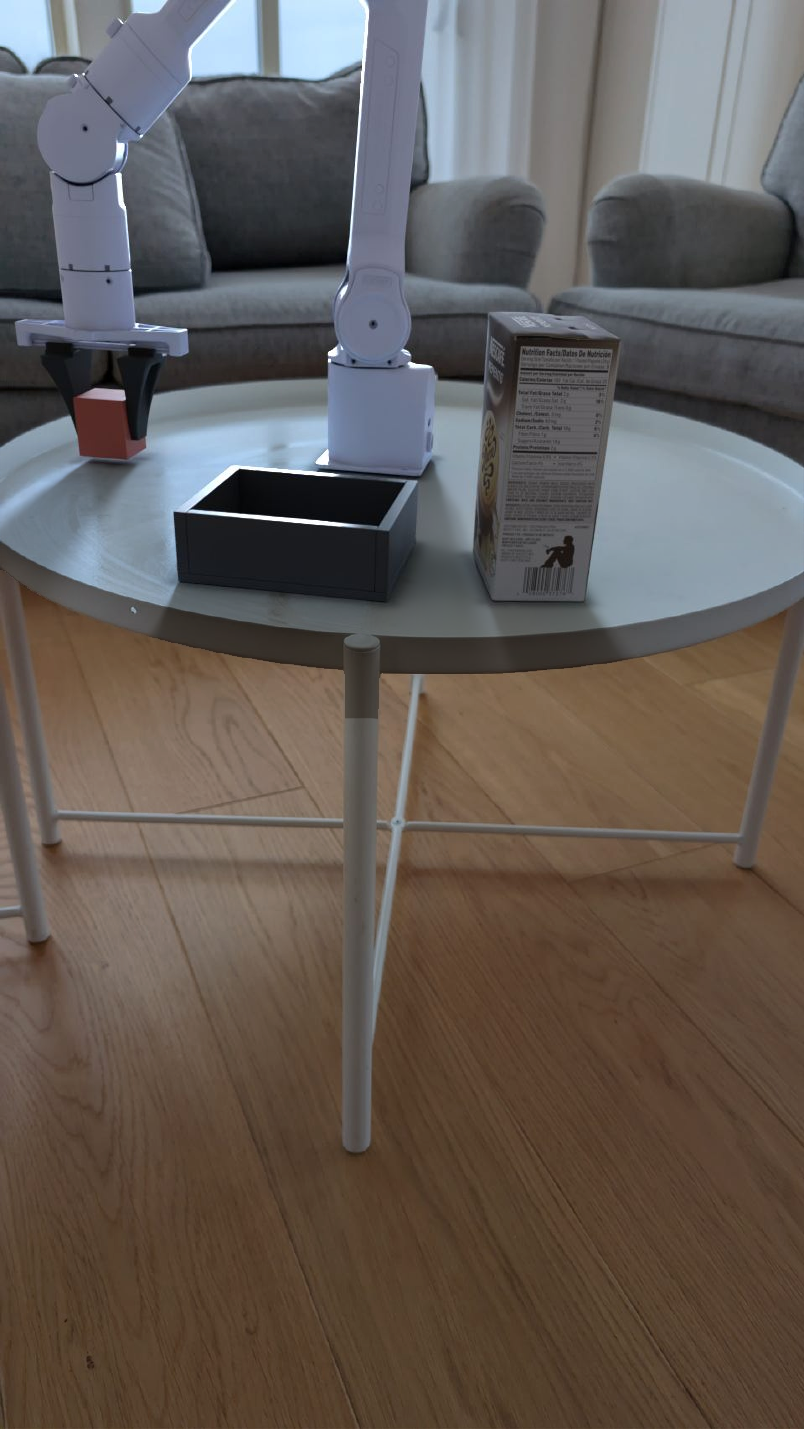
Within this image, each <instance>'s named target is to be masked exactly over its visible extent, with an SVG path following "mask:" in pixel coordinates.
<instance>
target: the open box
mask: <svg viewBox="0 0 804 1429" xmlns="http://www.w3.org/2000/svg"><path fill="white" fill-rule="evenodd" d="M418 501H419V480H413V479H408V480H407V479H402V478H390V477H388V478H386V477H376V476H365V475H355V474H354V475H353V474H343V473H342V474H341V473H331V472H330V473H329V472H317V471H305V470H294V469H280V468H269V467H257V466H244V465H234V464H231V465H230V466H228V467H227V468H226V469H225V470H224V471H222V472H221V473H219V474H218V475H217V476H216V477H215V478H213V480H211V481H210V482H208V483H207V484H206V485H205V486H204V487H202V488H201V489H199V491H197V492H196V493H195V494H194V495H192V496H191V497H190V498H189V499H187V500H186V501H184V502H183V503H182V504H181V505H180V506H179V507H177V508H176V509H174V511H173V512H172V513H173V527H174V540H175V542H174V543H175V556H176V557H175V558H176V570H177V581H178V582H180V583H181V582H182V583H191V584H193V583H194V584H202V585H211V586H222V587H232V588H242V589H250V590H251V589H253V590H261V591H262V590H263V591H273V592H282V593H291V594H303V595H315V596H323V597H332V598H343V599H351V600H352V599H353V600H362V601H363V600H364V601H374V602H385V603H387V602H388V601H389V599H390V596H391V594H392V593H393V590H394V588H395V586H396V584H397V582H398V580H399V578H400V576H401V574H402V572H403V570H404V568H405V566H406V564H407V562H408V560H409V558H410V556H411V554H412V551H413V550H414V548H415V546H416V543H417V525H418V524H417V522H418Z"/></svg>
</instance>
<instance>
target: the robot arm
mask: <svg viewBox="0 0 804 1429" xmlns="http://www.w3.org/2000/svg"><path fill="white" fill-rule="evenodd" d="M236 1H237V0H166V2H165V3H164V4H163V5H162V7H161V8H160V10H159V11H156V12H143V11H133V12H132V13H130V14H129V15H128V17H127V18H126V19H125V21H124V22H122V20H121V19H120V18H118V17H115V18H113V19H112V21H111V22H110V23H109V24H108V26H107V27H106V28H105V32H106V34H107V35H108V36H109V37H110V39H109V40H108V41H107V43H106V44H105V45H104V46H103V47H102V49H101V50H100V51H99V52H98V54H97V55H96V56H95V58H94V59H93V60H92V61H91V63H90V64H89V65H88V66H87V67H86V69H85V70H84V71H83V73H81V74H80V76H79V75H77V74H76V73H72V74H71V75H70V76H69V78H68V79H67V80H66V82H65V85H66V87H67V88H68V89H69V90H70V91H71V93H64V94H63V93H62V94H59V95H56V96H53V97H52V98H50V99H48V101H47V102H46V104H45V107H44V110H43V112H42V114H41V115H40V117H39V120H38V123H37V128H36V140H37V146H38V150H39V152H40V155H41V157H42V158H43V160H44V162H45V164H46V165H47V166H48V167H49V168H50V169H51V170H49V180H50V191H51V197H52V205H51V211H52V219H53V229H54V236H55V245H56V255H57V263H58V271H59V281H60V290H61V298H62V307H63V315H64V319H33V318H32V319H31V318H25V319H21V320H16V321H14V328H15V334H16V335H15V336H16V341H17V346H18V347H32V346H42V347H43V346H44V347H45V349H44V353H42V354H40V355H39V359H40V363H41V366H42V367H43V368H44V369H45V370H46V372H47V374H48V375H49V376H50V378H51V379H52V381H53V383H54V384H55V386H56V388H57V390H58V391H59V394H60V395H61V397H62V399H63V402H64V403H65V406H66V409H67V411H68V413H69V416H70V418H71V421H72V424H73V427H74V430H75V433H76V434H77V427H76V418H75V410H74V401H73V398H74V397H76V396H78V395H80V394H83V393H85V392H87V391H90V390H92V387H91V385H92V384H91V383H92V378H91V376H92V357H93V350H102V351H117V352H118V351H119V352H127V354H124V355H122V356H119V357H116V365H117V368H118V372H119V374H120V378H121V382H122V386H123V387H122V388H123V390H124V392H125V397H126V403H127V417H128V426H129V432H130V437H131V440H135V441H138V440H140V439H142V438H144V437H148V436H147V435H148V425H149V416H150V411H151V406H152V402H153V398H154V394H155V391H156V387H157V384H158V382H159V379H160V377H161V374H162V372H163V369H164V367H165V365H166V363H167V356H168V355H169V356H171V357H182V356H184V355H187V354H189V352H190V351H189V349H190V348H189V337H188V336H189V334H188V329H187V328H177V327H169V326H168V327H167V326H160V325H159V326H158V325H151V324H144V323H136V312H135V311H136V310H135V301H134V288H133V275H132V268H131V267H132V266H131V253H130V240H129V231H128V230H129V229H128V216H127V215H128V214H127V209H126V206H125V202H124V194H123V183H122V173H121V172H122V171H123V169H124V166H125V165H126V162H127V159H128V152H129V144H128V143H129V142H131V141H134V142H139V141H140V140H141V139H142V137H143V136H144V135H145V134H146V133H147V132H148V130H150V129H151V127H152V126H153V125H154V124H155V123H156V121H157V120H158V119H159V118H160V117H161V115H162V114H163V113H164V112H165V111H166V110H167V108H168V107H170V105H171V104H172V102H174V100H175V99H176V98H177V97H178V95H179V94H180V93H181V92H182V91H183V90H184V89H185V88H186V86H187V85H188V84H189V83H190V82H191V81H192V76H193V75H192V59H191V58H192V57H191V55H192V54H191V53H192V49H193V48H194V47H195V46H196V45H197V44H198V42H200V41H201V39H202V38H203V37H204V36H205V35H206V34H207V33H208V32H209V31H210V29H212V27H214V25H215V24H216V23H217V22H218V21H219V19H220V18H221V17H223V15H224V14H225V13H226V12H227V11H228V10H229V9H230V8H231V7H232V5H233V4H234V3H235V2H236ZM358 1H359V2H360V4H361V5H362V6H363V8H364V9H365V13H366V17H365V18H366V20H365V30H364V31H365V32H364V44H363V58H362V71H361V83H360V99H359V111H358V112H359V113H358V121H357V122H358V125H357V137H356V138H357V139H356V151H355V163H354V164H355V165H354V178H353V187H352V188H353V190H352V202H351V203H352V204H351V216H350V227H349V228H350V230H349V239H348V247H347V257H346V267H345V274H344V277H343V280H342V282H341V283H340V285H339V286H338V288H337V290H336V292H335V294H334V297H333V301H332V310H331V311H332V318H333V324H334V333H335V337H336V340H337V341H338V344H337V345H336V346H335V347H334V348H333V349H332V350H330V351H328V353H327V359H328V360H327V450H325V452H324V453H323V454H322V455H321V456H320V457H319V458H318V459H317V460H316V461H315V462H314V467H315V468H317V469H323V470H324V469H325V470H336V471H348V472H360V473H371V474H385V475H386V474H387V475H395V476H396V475H397V476H407V477H409V476H410V477H421V475H422V474H423V473H424V471H425V470H426V468H427V466H428V464H429V462H430V460H431V459H432V457H433V453H434V452H433V447H434V419H435V418H434V416H435V401H436V400H435V398H436V373H435V369H434V367H433V366H431V365H427V364H417V363H414V362H411V361H412V354H411V352H410V351H409V350H406V349H405V346H406V345H407V342H408V341H409V339H410V334H411V331H412V316H411V312H410V308H409V305H408V302H407V300H406V297H405V290H404V289H405V287H404V286H405V274H406V258H405V257H406V256H405V254H406V253H405V251H406V250H405V246H406V244H405V243H406V231H407V223H408V222H407V221H408V212H409V201H410V191H411V182H412V171H413V160H414V150H415V140H416V131H417V130H416V129H417V121H418V111H419V101H420V91H421V90H420V89H421V81H422V79H421V78H422V72H423V70H422V69H423V59H424V48H425V40H426V39H425V38H426V29H427V19H428V9H429V0H358Z"/></svg>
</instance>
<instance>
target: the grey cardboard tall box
mask: <svg viewBox="0 0 804 1429" xmlns="http://www.w3.org/2000/svg"><path fill="white" fill-rule="evenodd" d="M486 333H487V334H486V345H485V346H486V349H485V363H484V375H483V376H484V378H483V392H482V406H481V407H482V409H481V420H480V421H481V423H480V424H481V425H480V437H479V438H480V439H479V452H478V469H477V481H476V493H475V494H476V496H475V506H474V507H475V509H474V510H475V511H474V525H473V539H472V540H473V541H472V555H473V558H474V561H475V562H476V565H477V568H478V569H479V572H480V575H481V577H482V580H483V581H484V584H485V586H486V589H487V592H488V593H489V597H490V598H491V600H492V601H498V602H500V601H501V602H584V601H586V597H587V593H588V592H587V590H588V583H589V575H590V567H591V561H592V554H593V546H594V540H595V532H596V526H597V519H598V512H599V505H600V498H601V497H600V496H601V490H602V483H603V477H604V470H605V462H606V456H607V448H608V441H609V435H610V429H611V428H610V426H611V421H612V413H613V406H614V405H613V404H614V397H615V391H616V390H615V389H616V382H617V378H618V377H617V376H618V369H619V362H620V353H621V345H622V338H621V337H618V336H617V335H615V334H613V333H611V332H609V331H608V330H607V329H605V328H603V327H601V326H599V325H598V324H597V323H595V322H594V321H591V320H589V319H588V318H586V317H585V316H584V315H555V314H550V313H539V312H527V311H490V312H488V313H487V331H486Z"/></svg>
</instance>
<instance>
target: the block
mask: <svg viewBox="0 0 804 1429" xmlns="http://www.w3.org/2000/svg"><path fill="white" fill-rule="evenodd" d="M73 401H74V410H75V418H76V427H77V433H76V436H77V444H78V453H79V456H80V457H89V458H99V459H100V458H101V459H113V460H125V461H127V460H129V459H131V458H133V457H134V456H136V455H137V454H139V453H141V452H143V451H144V450H146V449H147V438H146V437H147V436H146V437H144V438H142V439H140V440H138V441H135V440H131V437H130V432H129V426H128V417H127V403H126V397H125V392H124V389H113V388H112V389H111V388H99V387H98V388H97V387H94V388H91V390H90V391H87V392H85V393H83V394H80V395H78V396H76V397H74V398H73Z"/></svg>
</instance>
